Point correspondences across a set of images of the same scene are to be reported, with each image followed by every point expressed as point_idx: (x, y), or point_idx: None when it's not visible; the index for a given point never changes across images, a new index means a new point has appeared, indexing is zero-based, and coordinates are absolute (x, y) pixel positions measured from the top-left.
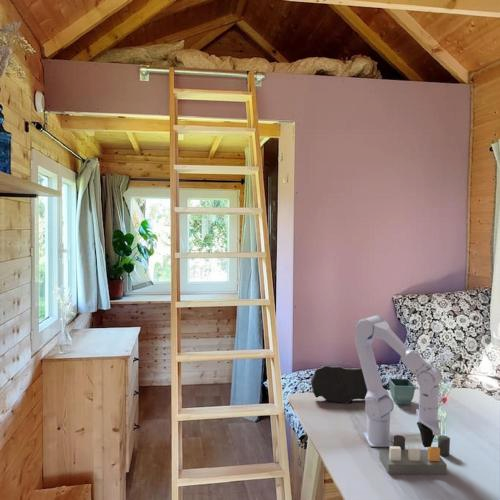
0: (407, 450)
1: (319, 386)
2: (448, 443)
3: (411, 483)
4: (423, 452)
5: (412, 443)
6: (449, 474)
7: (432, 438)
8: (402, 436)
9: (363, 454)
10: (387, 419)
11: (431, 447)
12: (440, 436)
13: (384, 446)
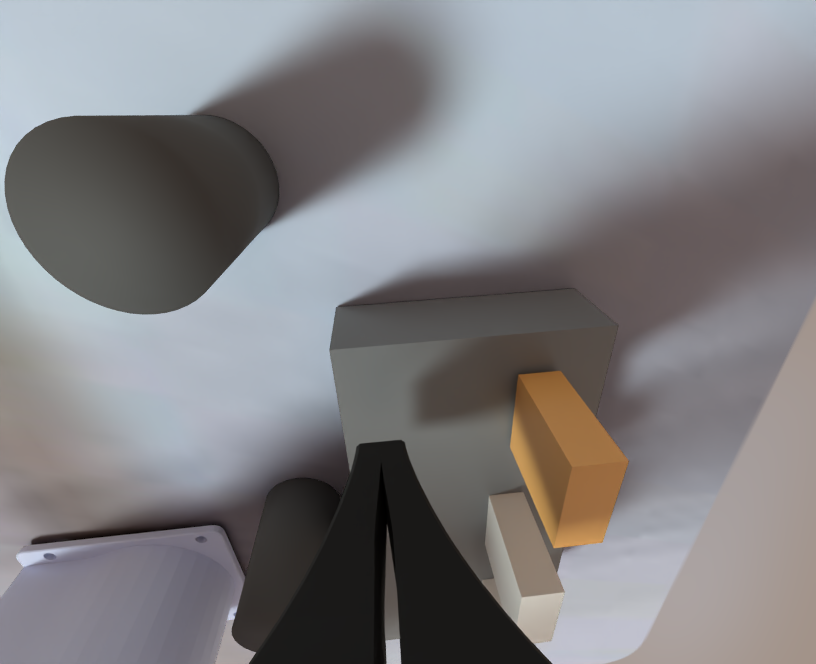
0: None
1: None
2: (215, 169)
3: (623, 494)
4: None
5: (96, 403)
6: (580, 263)
7: (443, 538)
8: (249, 615)
9: None
10: None
11: (573, 526)
12: (82, 271)
13: (237, 562)
